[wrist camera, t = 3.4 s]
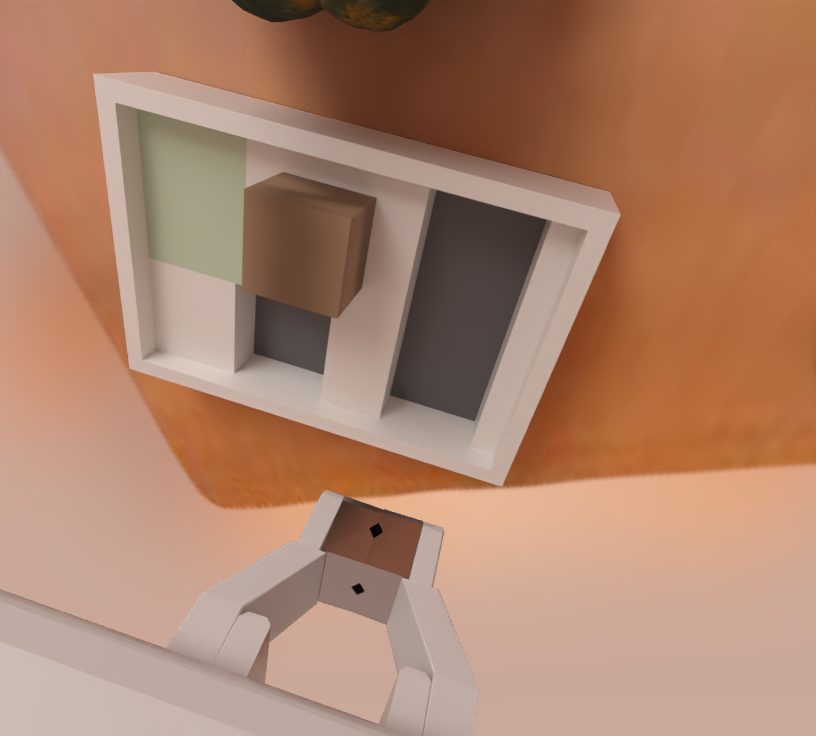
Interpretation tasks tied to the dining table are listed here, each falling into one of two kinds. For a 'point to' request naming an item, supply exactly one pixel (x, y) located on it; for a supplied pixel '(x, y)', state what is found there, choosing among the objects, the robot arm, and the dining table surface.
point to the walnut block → (305, 242)
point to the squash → (339, 11)
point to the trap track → (382, 284)
